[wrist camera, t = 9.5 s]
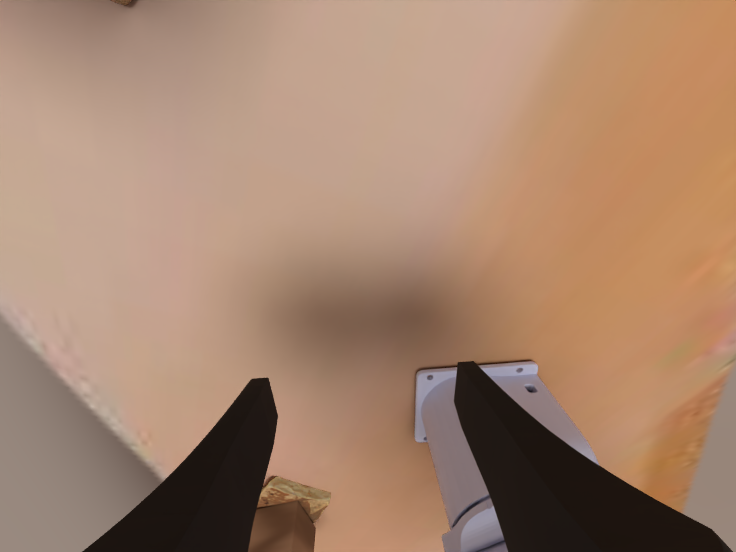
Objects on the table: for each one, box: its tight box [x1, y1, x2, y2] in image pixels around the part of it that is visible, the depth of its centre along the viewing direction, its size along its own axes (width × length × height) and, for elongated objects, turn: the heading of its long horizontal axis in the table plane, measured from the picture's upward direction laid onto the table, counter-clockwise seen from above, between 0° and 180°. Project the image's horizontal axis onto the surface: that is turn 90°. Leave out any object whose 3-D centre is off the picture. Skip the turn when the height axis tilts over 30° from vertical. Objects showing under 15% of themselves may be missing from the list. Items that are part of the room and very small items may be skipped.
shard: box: [256, 476, 331, 523], centre depth 31 cm, size 11×8×2 cm
